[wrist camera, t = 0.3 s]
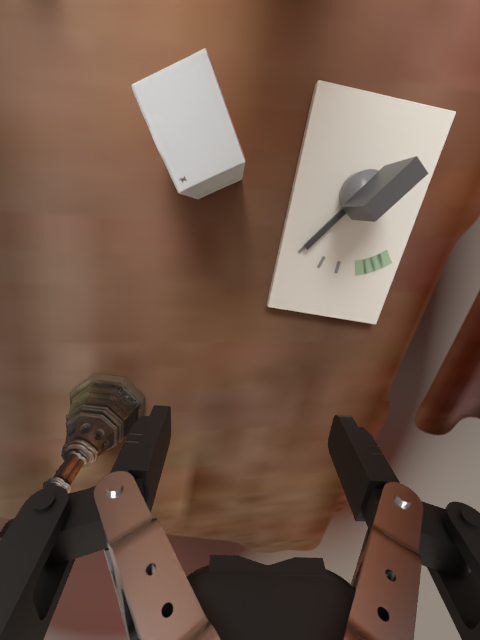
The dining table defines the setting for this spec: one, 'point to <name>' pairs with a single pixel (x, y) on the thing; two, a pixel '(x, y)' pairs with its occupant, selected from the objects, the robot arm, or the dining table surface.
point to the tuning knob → (374, 192)
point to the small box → (192, 126)
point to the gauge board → (323, 203)
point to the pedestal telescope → (95, 424)
